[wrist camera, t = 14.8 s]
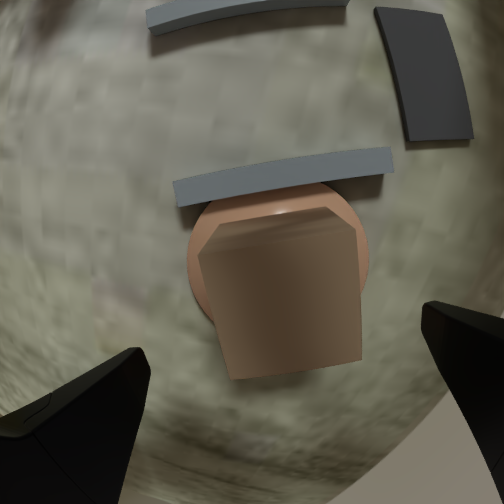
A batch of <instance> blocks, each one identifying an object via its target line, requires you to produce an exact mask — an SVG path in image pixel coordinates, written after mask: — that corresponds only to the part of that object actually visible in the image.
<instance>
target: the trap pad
mask: <svg viewBox="0 0 504 504" xmlns="http://www.w3.org/2000/svg"><path fill="white" fill-rule="evenodd" d="M374 12H375V15H376V18H377V21H378V24H379V27H380V30H381V33H382V36H383V39H384V43H385V46H386V50H387V53H388V57H389V60H390V64H391V68H392V72H393V76H394V80H395V84H396V88H397V93H398V97H399V102H400V107H401V112H402V117H403V123H404V128H405V134H406V141H424V140H449V139H474V135H473V128H472V122H471V116H470V111H469V106H468V101H467V96H466V91H465V87H464V83H463V79H462V75H461V71H460V67H459V63H458V60H457V56H456V53H455V50H454V46H453V43H452V40H451V37H450V34H449V31H448V28H447V26H446V23H445V20H444V17H443V15H442V14H436V13H430V12H424V11H417V10H409V9H400V8H389V7H375V8H374Z"/></svg>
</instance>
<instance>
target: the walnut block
mask: <svg viewBox="0 0 504 504" xmlns="http://www.w3.org/2000/svg"><path fill="white" fill-rule="evenodd" d="M197 256H198V260H199V264H200V268H201V273H202V277H203V281H204V285H205V289H206V293H207V297H208V301H209V304H210V308H211V312H212V316H213V320H214V323H215V327H216V331H217V335H218V338H219V342H220V345H221V349H222V353H223V356H224V360H225V363H226V367H227V370H228V374H229V377H230V380H236V379H246V378H255V377H264V376H272V375H279V374H287V373H294V372H300V371H306V370H312V369H318V368H324V367H330V366H335V365H340V364H345V363H350V362H355V361H360V360H362V322H361V294H360V275H359V261H358V248H357V237H356V229H355V228H353V227H352V226H351V225H350V224H348V223H347V222H346V221H344V220H343V219H342V218H341V217H339V216H338V215H337V214H335V213H334V212H333V211H331V210H330V209H329V208H327V207H326V206H325V207H318V208H312V209H305V210H299V211H293V212H286V213H280V214H274V215H268V216H262V217H256V218H251V219H245V220H239V221H233V222H228V223H222V224H219V226H218V227H217V228H216V230H215V231H214V233H213V234H212V235H211V237H210V238H209V240H208V241H207V242H206V244H205V245H204V247H203V248H202V249H201V251H200V252H199V254H198V255H197Z"/></svg>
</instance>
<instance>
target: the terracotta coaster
mask: <svg viewBox="0 0 504 504" xmlns="http://www.w3.org/2000/svg"><path fill="white" fill-rule="evenodd" d="M325 206H326V207H327V208H329V209H330V210H331V211H333V212H334V213H335V214H337V215H338V216H339V217H341V218H342V219H343V220H344V221H346V222H347V223H348V224H350V225H351V226H352V227H353V228H355V229H356V237H357V248H358V261H359V275H360V294H361V293H362V290H363V288H364V285H365V282H366V278H367V273H368V266H369V251H368V244H367V239H366V235H365V232H364V229H363V227H362V225H361V222H360V220H359V218H358V217H357V215H356V214H355V212H354V210H353V209H352V208H351V207H350V205H349V204H348V203H347V202H346V201H345V200H344V199H343V198H342V197H341V196H340V195H339V194H338V193H337V192H335V191H334V190H332V189H331V188H329V187H328V186H326V185H324V184H322V183H320V182H316V183H309V184H303V185H296V186H290V187H284V188H278V189H272V190H266V191H260V192H254V193H249V194H243V195H238V196H232V197H227V198H222V199H217V200H213V201H212V202H211V203H210V204H209V205H208V206H207V207H206V208H205V210H204V211H203V212H202V214H201V215H200V217H199V219H198V221H197V222H196V224H195V226H194V229H193V232H192V234H191V237H190V241H189V246H188V253H187V269H188V276H189V281H190V284H191V287H192V290H193V293H194V295H195V297H196V299H197V301H198V303H199V304H200V306H201V307H202V309H203V310H204V312H205V313H206V314H207V315H208V316H209V317H210V319H211V320H212V321H214V320H213V316H212V312H211V308H210V304H209V301H208V297H207V293H206V289H205V285H204V281H203V277H202V273H201V268H200V264H199V260H198V256H197V255H198V254H199V252H200V251H201V249H202V248H203V247H204V245H205V244H206V242H207V241H208V240H209V238H210V237H211V235H212V234H213V233H214V231H215V230H216V228H217V227H218V226H219V224H222V223H228V222H233V221H239V220H245V219H251V218H256V217H262V216H268V215H274V214H280V213H286V212H293V211H299V210H305V209H312V208H318V207H325Z"/></svg>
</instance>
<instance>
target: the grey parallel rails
mask: <svg viewBox="0 0 504 504" xmlns="http://www.w3.org/2000/svg"><path fill="white" fill-rule="evenodd" d="M349 1H350V0H176V1H173V2H169V3H166V4H163V5H160V6H156V7H153V8H150V9H148V10H146V19H147V28H148V29H149V30H150V31H151V32H152V33H153V34H154V35H155V36H157V35H160V34H164V33H167V32H170V31H174V30H177V29H181V28H184V27H188V26H192V25H196V24H200V23H204V22H208V21H212V20H217V19H222V18H227V17H232V16H237V15H243V14H249V13H255V12H262V11H270V10H278V9H288V8H300V7H317V6H347V4H348V3H349ZM393 172H394V168H393V161H392V154H391V147H381V148H371V149H361V150H352V151H343V152H335V153H327V154H319V155H312V156H305V157H298V158H292V159H285V160H279V161H273V162H267V163H261V164H255V165H250V166H244V167H239V168H234V169H229V170H224V171H219V172H214V173H209V174H204V175H200V176H195V177H190V178H186V179H182V180H177V181H173V186H174V191H175V196H176V200H177V205H178V207H182V206H187V205H192V204H197V203H202V202H207V201H212V200H217V199H222V198H227V197H232V196H238V195H243V194H249V193H254V192H260V191H266V190H272V189H278V188H284V187H290V186H296V185H303V184H309V183H316V182H323V181H330V180H337V179H344V178H352V177H360V176H368V175H376V174H384V173H393Z"/></svg>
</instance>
